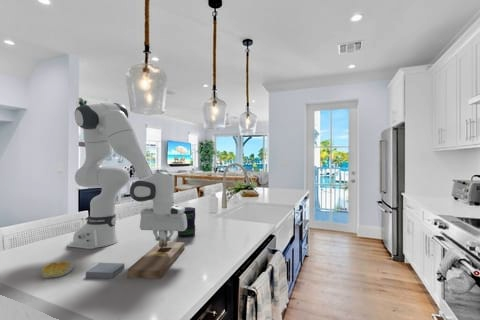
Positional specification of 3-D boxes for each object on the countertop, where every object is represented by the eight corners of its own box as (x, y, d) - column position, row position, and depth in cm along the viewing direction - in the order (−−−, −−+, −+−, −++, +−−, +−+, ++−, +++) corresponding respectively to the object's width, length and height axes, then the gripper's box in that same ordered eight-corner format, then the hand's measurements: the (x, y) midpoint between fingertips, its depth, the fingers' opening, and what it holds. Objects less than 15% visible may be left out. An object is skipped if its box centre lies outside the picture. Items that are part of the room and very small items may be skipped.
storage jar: (174, 235, 139) (174, 208, 139) (189, 231, 146) (189, 206, 146) (182, 239, 132) (183, 211, 132) (198, 235, 138) (198, 209, 138)
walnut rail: (127, 277, 88) (127, 268, 88) (159, 248, 118) (160, 241, 118) (160, 278, 88) (160, 269, 88) (184, 248, 118) (184, 242, 118)
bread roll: (49, 269, 95) (49, 259, 95) (74, 268, 96) (75, 258, 96) (35, 280, 87) (35, 268, 87) (63, 278, 88) (63, 267, 88)
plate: (85, 277, 88) (85, 271, 88) (99, 267, 96) (99, 262, 96) (112, 278, 88) (112, 272, 88) (124, 268, 96) (124, 263, 96)
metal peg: (157, 247, 106) (157, 230, 106) (161, 244, 109) (161, 228, 109) (165, 247, 105) (165, 230, 105) (168, 244, 109) (169, 228, 109)
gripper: (137, 209, 105) (136, 242, 105) (184, 210, 103) (183, 243, 103) (144, 206, 111) (143, 237, 111) (188, 207, 110) (188, 239, 110)
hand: (163, 240), depth 107 cm, fingers closed on metal peg, 4 cm apart
